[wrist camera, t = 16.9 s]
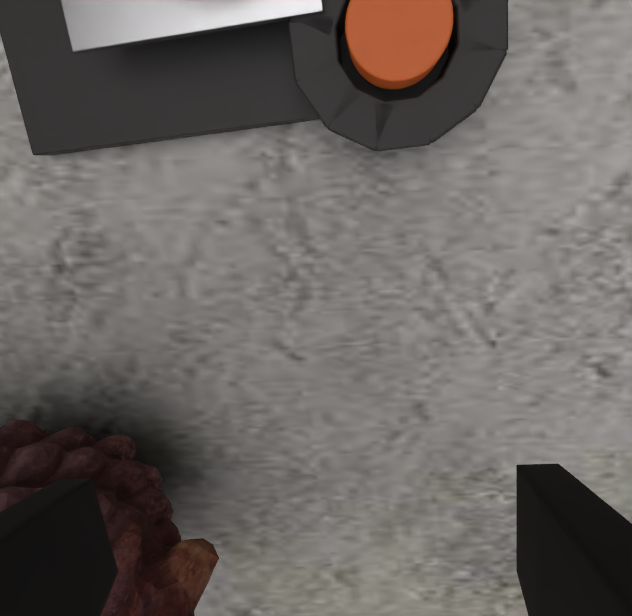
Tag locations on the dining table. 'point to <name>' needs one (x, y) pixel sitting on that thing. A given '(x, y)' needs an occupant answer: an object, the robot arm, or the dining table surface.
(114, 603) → the pine cone
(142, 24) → the scale platform
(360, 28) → the button
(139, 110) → the scale
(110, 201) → the dining table surface
